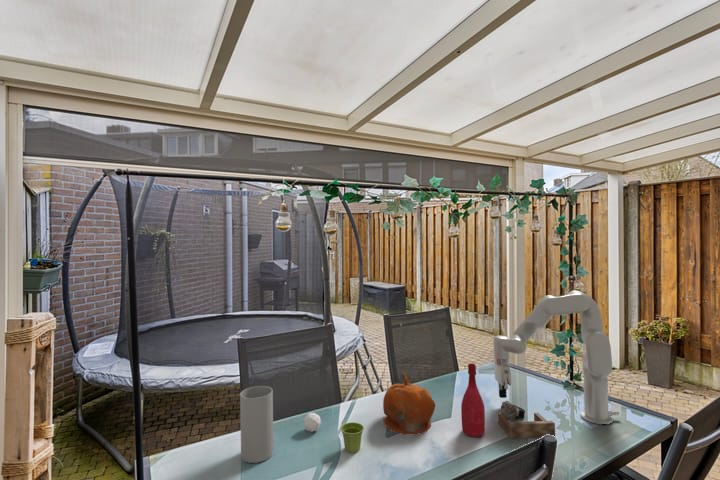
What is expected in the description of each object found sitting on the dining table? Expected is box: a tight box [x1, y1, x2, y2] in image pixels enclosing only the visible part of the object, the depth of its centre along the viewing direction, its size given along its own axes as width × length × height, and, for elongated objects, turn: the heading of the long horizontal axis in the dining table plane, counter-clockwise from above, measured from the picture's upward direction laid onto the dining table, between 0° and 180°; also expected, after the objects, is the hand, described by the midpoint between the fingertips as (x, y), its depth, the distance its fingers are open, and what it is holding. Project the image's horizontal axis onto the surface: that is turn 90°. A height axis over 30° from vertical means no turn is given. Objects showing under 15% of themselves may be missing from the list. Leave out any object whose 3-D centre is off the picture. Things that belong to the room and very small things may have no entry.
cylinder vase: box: [239, 385, 275, 464], centre depth 147 cm, size 12×12×25 cm
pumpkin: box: [382, 371, 436, 435], centre depth 172 cm, size 22×25×23 cm
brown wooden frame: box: [497, 412, 556, 440], centre depth 163 cm, size 19×14×6 cm
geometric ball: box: [303, 412, 322, 433], centre depth 165 cm, size 8×8×8 cm
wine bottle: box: [460, 362, 486, 438], centre depth 161 cm, size 10×10×30 cm
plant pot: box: [340, 422, 365, 454], centre depth 150 cm, size 9×9×9 cm
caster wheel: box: [499, 400, 526, 421], centre depth 177 cm, size 7×11×10 cm
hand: (502, 397), depth 187 cm, fingers closed
